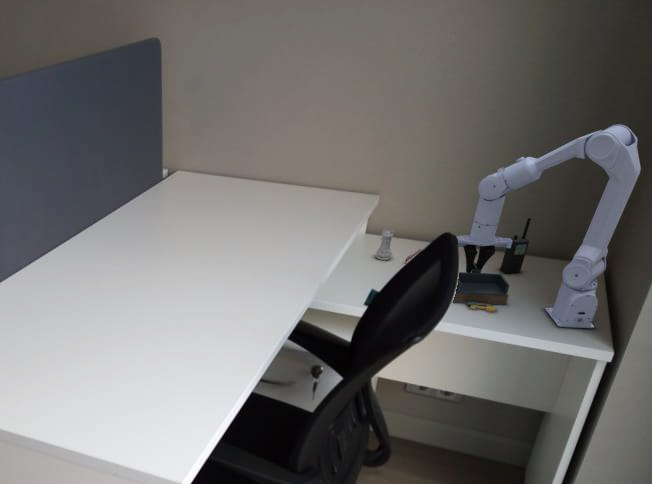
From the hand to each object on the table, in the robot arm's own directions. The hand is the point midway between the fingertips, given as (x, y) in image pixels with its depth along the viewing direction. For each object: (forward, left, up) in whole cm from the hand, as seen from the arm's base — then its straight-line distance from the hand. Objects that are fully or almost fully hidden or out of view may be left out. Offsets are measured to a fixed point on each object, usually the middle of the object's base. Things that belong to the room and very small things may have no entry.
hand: (472, 272), depth 189 cm
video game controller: (+10, +11, -4) cm, 16 cm away
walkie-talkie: (+12, -14, -4) cm, 19 cm away
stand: (-6, 0, -4) cm, 7 cm away
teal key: (-11, +1, -4) cm, 12 cm away
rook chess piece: (+18, +19, -4) cm, 27 cm away
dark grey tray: (-4, 0, -2) cm, 5 cm away
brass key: (-13, 0, -4) cm, 13 cm away
